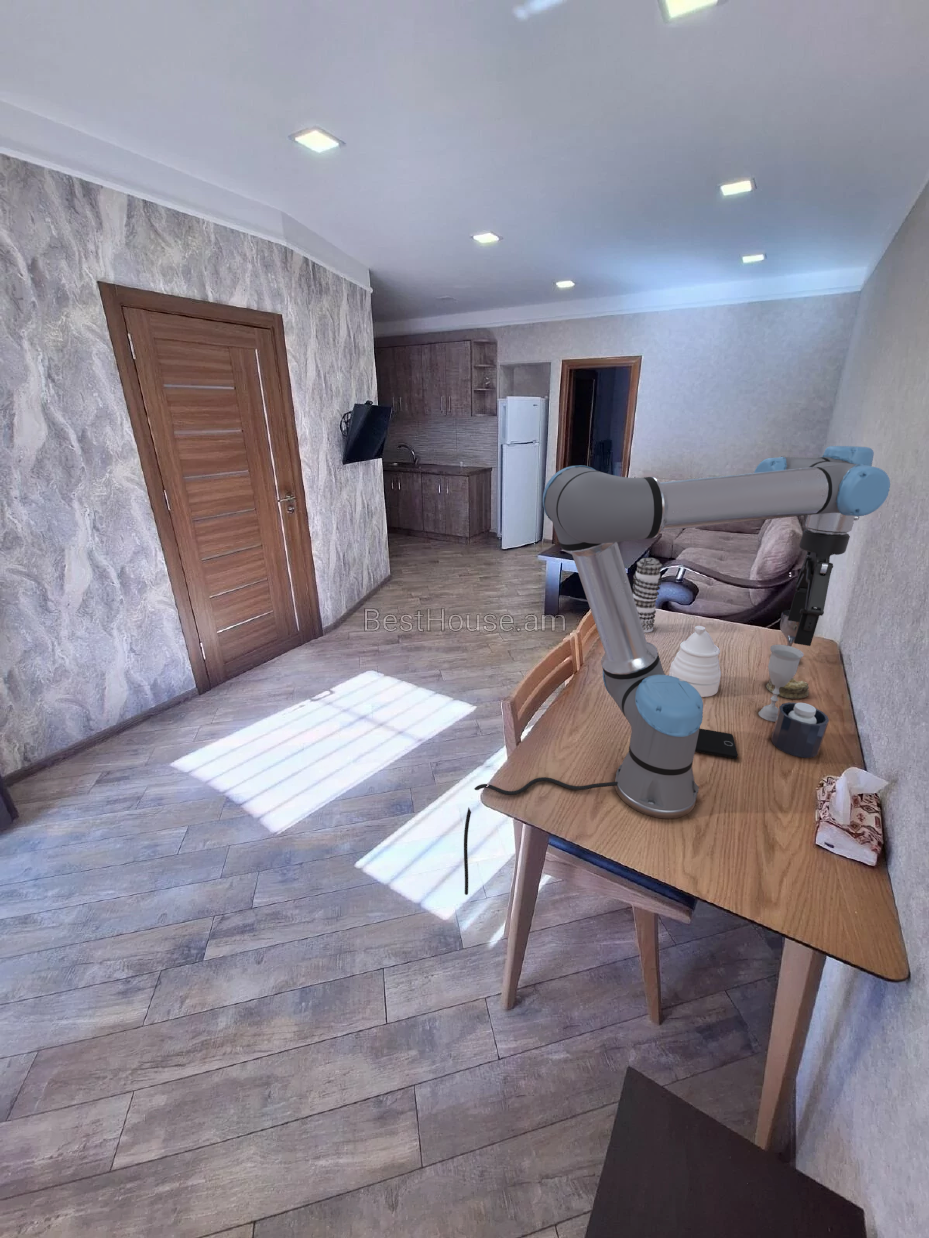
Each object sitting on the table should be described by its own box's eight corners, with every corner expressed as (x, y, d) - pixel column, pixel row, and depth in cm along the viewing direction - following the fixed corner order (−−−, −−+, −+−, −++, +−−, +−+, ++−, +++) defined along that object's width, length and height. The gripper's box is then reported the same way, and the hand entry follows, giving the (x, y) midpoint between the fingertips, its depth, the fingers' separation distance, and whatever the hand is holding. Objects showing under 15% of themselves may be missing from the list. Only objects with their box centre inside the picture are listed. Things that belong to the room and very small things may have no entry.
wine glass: (801, 657, 155) (813, 612, 149) (800, 667, 149) (813, 621, 143) (771, 651, 159) (782, 607, 153) (770, 661, 153) (781, 616, 147)
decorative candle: (636, 620, 184) (644, 554, 174) (659, 628, 177) (669, 559, 168) (621, 627, 178) (629, 559, 169) (645, 635, 172) (655, 564, 162)
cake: (792, 705, 131) (795, 687, 129) (757, 688, 139) (760, 671, 137) (817, 693, 134) (821, 676, 132) (781, 678, 143) (785, 661, 141)
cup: (797, 761, 109) (807, 728, 106) (761, 737, 117) (769, 706, 114) (828, 752, 112) (838, 720, 108) (791, 730, 120) (800, 699, 116)
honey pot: (704, 702, 132) (717, 639, 125) (659, 684, 141) (668, 625, 134) (725, 685, 139) (738, 626, 133) (681, 669, 148) (691, 613, 142)
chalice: (790, 725, 121) (809, 659, 115) (760, 722, 123) (776, 656, 116) (779, 709, 128) (796, 645, 121) (750, 706, 129) (765, 643, 123)
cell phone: (737, 759, 109) (738, 756, 109) (650, 744, 115) (650, 740, 114) (731, 737, 117) (732, 733, 117) (650, 723, 122) (650, 720, 122)
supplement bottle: (793, 734, 117) (803, 698, 113) (814, 747, 112) (826, 710, 109) (775, 739, 115) (785, 703, 112) (797, 752, 111) (808, 715, 107)
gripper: (865, 546, 84) (829, 659, 92) (839, 521, 105) (811, 615, 113) (812, 541, 88) (782, 651, 95) (797, 518, 108) (773, 609, 116)
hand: (798, 632), depth 104 cm, fingers open, 13 cm apart
